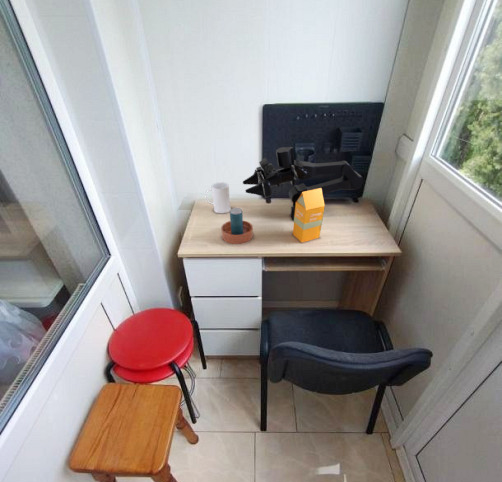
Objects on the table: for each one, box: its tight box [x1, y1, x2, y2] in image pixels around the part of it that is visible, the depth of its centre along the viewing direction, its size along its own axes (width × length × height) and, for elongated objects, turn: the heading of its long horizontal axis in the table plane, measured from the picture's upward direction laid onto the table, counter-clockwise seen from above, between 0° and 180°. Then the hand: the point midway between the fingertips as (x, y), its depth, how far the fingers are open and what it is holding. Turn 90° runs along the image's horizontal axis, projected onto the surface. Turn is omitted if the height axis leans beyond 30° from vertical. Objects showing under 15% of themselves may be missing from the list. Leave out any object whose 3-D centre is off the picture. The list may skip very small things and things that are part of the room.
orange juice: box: [292, 188, 326, 243], centre depth 115 cm, size 8×9×20 cm
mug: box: [204, 181, 232, 214], centre depth 137 cm, size 12×8×12 cm
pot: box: [220, 219, 254, 245], centre depth 121 cm, size 13×13×4 cm
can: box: [229, 207, 244, 235], centre depth 118 cm, size 5×5×12 cm
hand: (244, 187), depth 120 cm, fingers open, 9 cm apart
